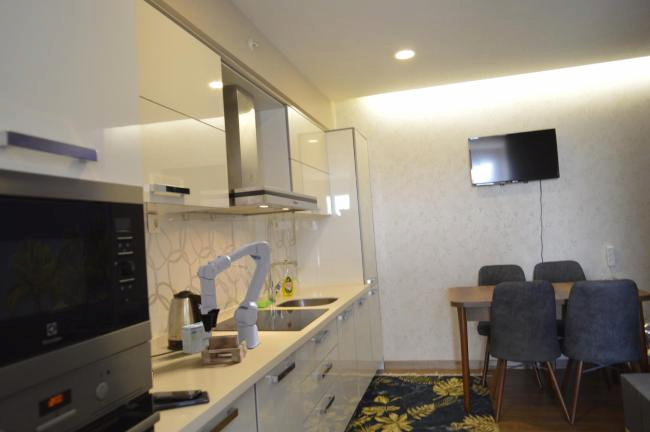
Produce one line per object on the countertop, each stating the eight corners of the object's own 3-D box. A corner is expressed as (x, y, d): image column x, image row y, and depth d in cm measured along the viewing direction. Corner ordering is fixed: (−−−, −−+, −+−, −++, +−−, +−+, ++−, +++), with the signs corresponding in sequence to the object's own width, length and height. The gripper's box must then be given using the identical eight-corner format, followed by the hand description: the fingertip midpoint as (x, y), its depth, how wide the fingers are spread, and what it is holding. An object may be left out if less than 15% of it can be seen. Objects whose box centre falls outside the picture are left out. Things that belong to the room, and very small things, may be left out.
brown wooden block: (209, 355, 176) (208, 338, 177) (212, 352, 180) (211, 336, 181) (236, 353, 176) (235, 336, 176) (238, 350, 180) (237, 334, 180)
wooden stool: (211, 355, 185) (211, 342, 185) (247, 352, 185) (246, 339, 185) (202, 365, 171) (201, 351, 171) (240, 362, 171) (239, 348, 171)
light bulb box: (204, 346, 202) (202, 321, 202) (213, 348, 197) (212, 322, 198) (182, 352, 193) (180, 326, 194) (192, 354, 189) (190, 327, 189)
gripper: (203, 293, 194) (205, 326, 193) (192, 298, 179) (195, 334, 179) (220, 292, 194) (222, 325, 193) (211, 296, 179) (213, 333, 179)
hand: (210, 329), depth 186 cm, fingers open, 7 cm apart
